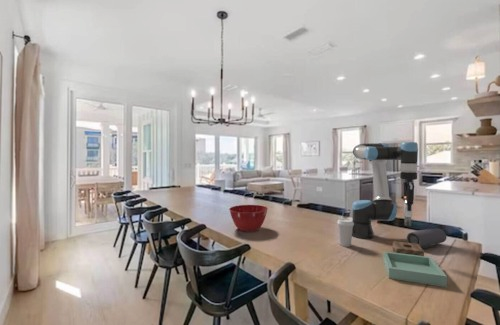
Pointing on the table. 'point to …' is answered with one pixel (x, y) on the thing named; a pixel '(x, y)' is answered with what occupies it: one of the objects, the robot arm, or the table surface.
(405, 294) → the table surface
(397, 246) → the wooden socket block
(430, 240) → the bluetooth speaker
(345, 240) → the coffee cup
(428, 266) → the parts tray
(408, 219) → the pin
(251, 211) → the mixing bowl
